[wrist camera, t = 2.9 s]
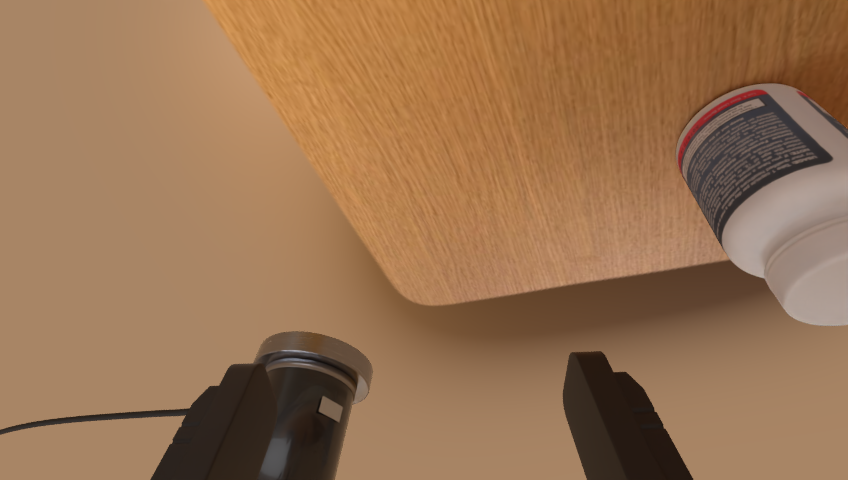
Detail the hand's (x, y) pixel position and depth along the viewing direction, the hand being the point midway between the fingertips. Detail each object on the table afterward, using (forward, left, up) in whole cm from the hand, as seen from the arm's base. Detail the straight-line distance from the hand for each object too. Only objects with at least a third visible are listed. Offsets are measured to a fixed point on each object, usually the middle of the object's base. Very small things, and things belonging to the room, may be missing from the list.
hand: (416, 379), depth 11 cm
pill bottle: (+9, -9, -13) cm, 19 cm away
